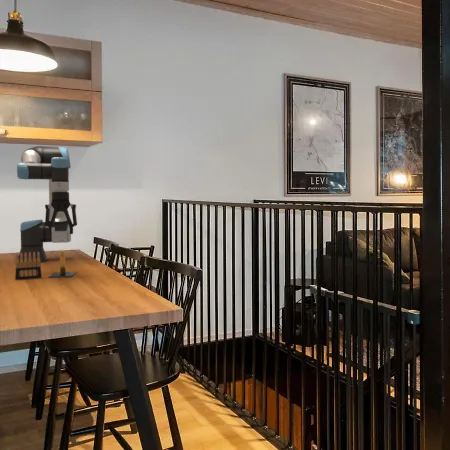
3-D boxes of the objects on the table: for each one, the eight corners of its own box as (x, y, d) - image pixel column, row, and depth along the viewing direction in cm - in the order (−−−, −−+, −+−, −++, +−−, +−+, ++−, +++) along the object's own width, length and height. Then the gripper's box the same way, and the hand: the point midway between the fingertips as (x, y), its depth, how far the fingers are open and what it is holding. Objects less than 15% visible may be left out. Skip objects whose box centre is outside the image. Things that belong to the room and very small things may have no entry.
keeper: (54, 273, 224) (54, 250, 223) (76, 273, 225) (76, 250, 224) (48, 277, 212) (47, 253, 211) (71, 277, 213) (70, 253, 212)
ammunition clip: (15, 279, 207) (14, 252, 206) (15, 279, 209) (14, 252, 208) (41, 277, 212) (40, 251, 211) (41, 277, 213) (40, 250, 213)
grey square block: (56, 241, 221) (55, 230, 221) (70, 241, 221) (70, 230, 221) (52, 242, 214) (52, 231, 214) (67, 242, 215) (67, 231, 215)
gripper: (36, 191, 212) (37, 242, 213) (80, 191, 214) (81, 241, 215) (40, 191, 219) (41, 241, 220) (83, 191, 222) (84, 240, 223)
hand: (61, 241), depth 218 cm, fingers closed on grey square block, 6 cm apart
